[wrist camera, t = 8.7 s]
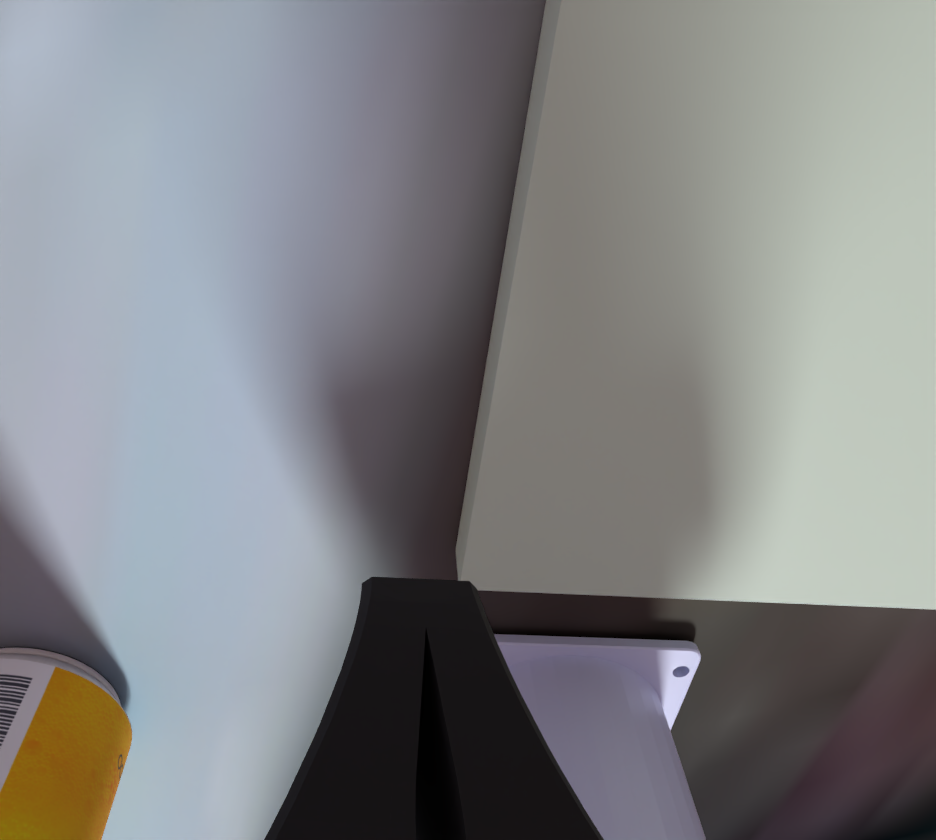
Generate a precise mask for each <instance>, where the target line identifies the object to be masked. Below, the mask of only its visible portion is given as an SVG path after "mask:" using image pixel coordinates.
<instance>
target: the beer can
mask: <svg viewBox="0 0 936 840" xmlns="http://www.w3.org/2000/svg"><path fill="white" fill-rule="evenodd" d="M131 741H132V729H131V724H130V721H129V719H128V716H127V714H126V713H125V711H124V709H123V708H122V707H121V703H120V700H119V698H118V695H117V693H116V692H115V690H114V688H113V687H112V686H111V685H110V683H109V682H108V681H107V680H106V679H105V678H104V677H103V676H101V675H100V674H99V673H98V672H96V671H95V670H93V669H92V668H90V667H89V666H87V665H85V664H83V663H81V662H79V661H77V660H75V659H72V658H70V657H67V656H64V655H61V654H58V653H54V652H50V651H45V650H40V649H32V648H1V649H0V840H101V839H102V835H103V832H104V829H105V826H106V823H107V819H108V816H109V813H110V810H111V807H112V803H113V800H114V797H115V794H116V791H117V788H118V784H119V781H120V778H121V775H122V772H123V768H124V765H125V762H126V759H127V756H128V752H129V749H130V746H131Z"/></svg>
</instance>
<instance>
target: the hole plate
mask: <svg viewBox="0 0 936 840" xmlns="http://www.w3.org/2000/svg"><path fill="white" fill-rule="evenodd" d="M455 551H456V562H457V573H458V581H470V582H471V583H472V584H473V585H474V586H475V587H476V588H477V590H483V591H506V592H530V593H554V594H578V595H602V596H626V597H650V598H674V599H698V600H722V601H745V602H769V603H793V604H817V605H841V606H865V607H889V608H913V609H936V0H546V3H545V9H544V15H543V22H542V28H541V34H540V40H539V46H538V52H537V58H536V64H535V70H534V76H533V82H532V88H531V94H530V100H529V107H528V113H527V119H526V125H525V131H524V137H523V143H522V149H521V155H520V161H519V167H518V173H517V179H516V185H515V192H514V198H513V204H512V210H511V216H510V222H509V228H508V234H507V240H506V246H505V252H504V258H503V264H502V270H501V276H500V283H499V289H498V295H497V301H496V307H495V313H494V319H493V325H492V331H491V337H490V343H489V349H488V355H487V361H486V368H485V374H484V380H483V386H482V392H481V398H480V404H479V410H478V416H477V422H476V428H475V434H474V440H473V446H472V453H471V459H470V465H469V471H468V477H467V483H466V489H465V495H464V501H463V507H462V513H461V519H460V525H459V531H458V538H457V544H456V550H455Z"/></svg>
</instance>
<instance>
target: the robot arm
mask: <svg viewBox="0 0 936 840" xmlns="http://www.w3.org/2000/svg"><path fill="white" fill-rule="evenodd" d="M700 660H701V655H700V652H699V650H698V647H697V645H696V644H695V643H693V642H690V641H680V640H651V639H622V638H593V637H564V636H535V635H506V634H493V631H492V629H491V626H490V624H489V621H488V619H487V616H486V614H485V611H484V608H483V605H482V603H481V600H480V597H479V594H478V591H477V588H476V587H475V586H474V585H473V584H472V583H471V582H470V581H456V580H433V579H410V578H387V577H371V578H370V579H368V580H367V581H365V582H363V583H362V591H361V600H360V605H359V610H358V615H357V619H356V623H355V627H354V631H353V634H352V638H351V641H350V644H349V647H348V651H347V654H346V657H345V660H344V663H343V666H342V669H341V672H340V674H339V677H338V679H337V682H336V684H335V687H334V690H333V692H332V695H331V697H330V700H329V702H328V705H327V707H326V710H325V713H324V715H323V718H322V720H321V723H320V725H319V727H318V730H317V732H316V734H315V737H314V739H313V741H312V743H311V745H310V747H309V749H308V752H307V754H306V756H305V758H304V760H303V762H302V764H301V767H300V769H299V771H298V773H297V775H296V777H295V779H294V782H293V784H292V786H291V788H290V790H289V792H288V794H287V797H286V799H285V801H284V803H283V805H282V807H281V809H280V811H279V812H278V814H277V816H276V818H275V820H274V822H273V824H272V826H271V828H270V830H269V832H268V834H267V836H266V838H265V839H264V840H706V838H705V835H704V832H703V829H702V826H701V823H700V820H699V817H698V814H697V811H696V808H695V805H694V801H693V798H692V795H691V792H690V789H689V786H688V783H687V780H686V777H685V774H684V771H683V768H682V765H681V762H680V759H679V756H678V753H677V750H676V747H675V744H674V741H673V737H672V734H671V731H670V730H671V728H672V726H673V723H674V721H675V719H676V716H677V714H678V712H679V709H680V707H681V705H682V702H683V700H684V698H685V695H686V693H687V691H688V688H689V686H690V683H691V681H692V679H693V676H694V674H695V672H696V669H697V667H698V665H699V662H700Z"/></svg>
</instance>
